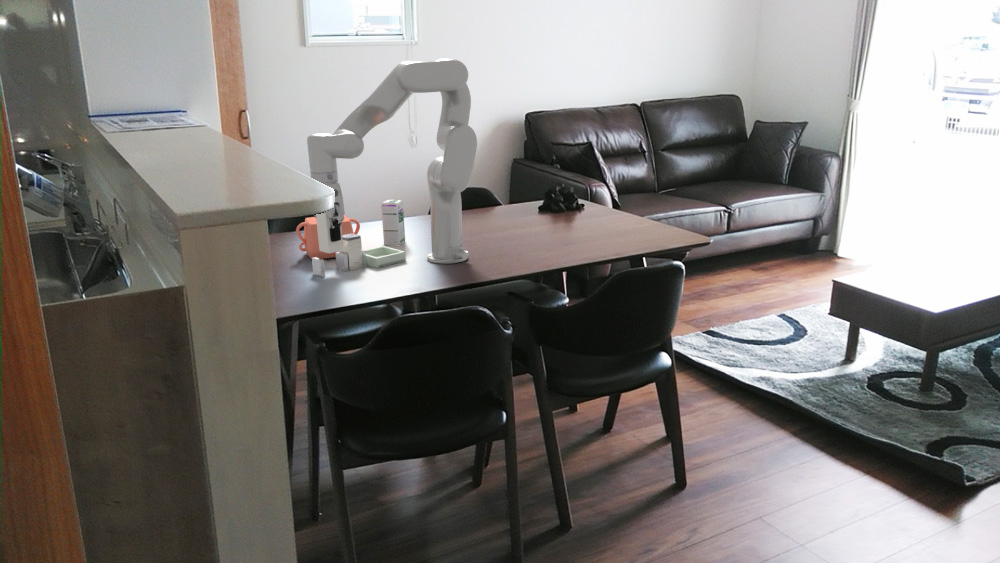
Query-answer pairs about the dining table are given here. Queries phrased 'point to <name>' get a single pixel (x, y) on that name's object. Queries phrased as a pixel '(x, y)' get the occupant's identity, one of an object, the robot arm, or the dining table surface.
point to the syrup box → (393, 222)
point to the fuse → (327, 235)
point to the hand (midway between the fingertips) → (330, 238)
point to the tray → (384, 256)
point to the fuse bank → (344, 256)
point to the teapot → (312, 236)
